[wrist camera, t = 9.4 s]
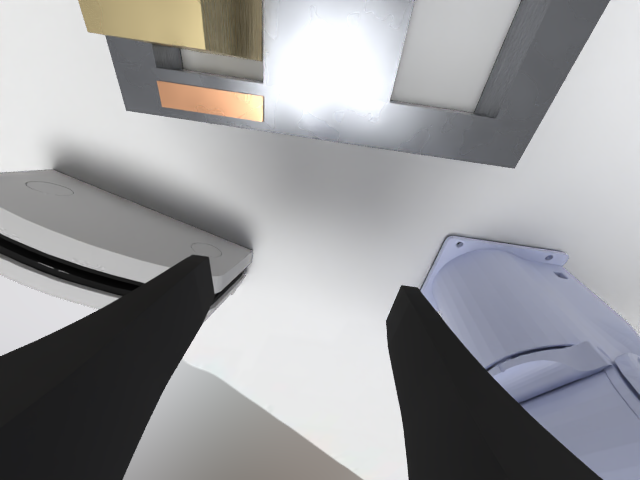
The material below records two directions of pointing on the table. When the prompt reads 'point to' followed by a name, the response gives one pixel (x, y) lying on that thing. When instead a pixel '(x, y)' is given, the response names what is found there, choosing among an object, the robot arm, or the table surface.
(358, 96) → the rail plate
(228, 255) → the grey rounded block
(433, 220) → the table surface
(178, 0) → the brass peg
